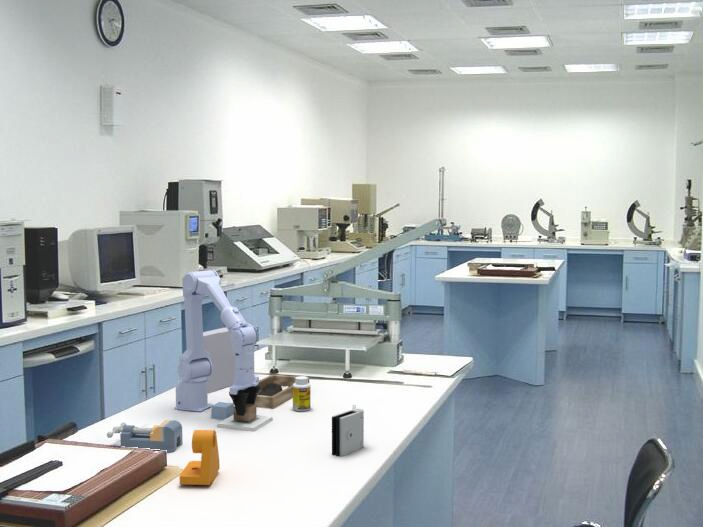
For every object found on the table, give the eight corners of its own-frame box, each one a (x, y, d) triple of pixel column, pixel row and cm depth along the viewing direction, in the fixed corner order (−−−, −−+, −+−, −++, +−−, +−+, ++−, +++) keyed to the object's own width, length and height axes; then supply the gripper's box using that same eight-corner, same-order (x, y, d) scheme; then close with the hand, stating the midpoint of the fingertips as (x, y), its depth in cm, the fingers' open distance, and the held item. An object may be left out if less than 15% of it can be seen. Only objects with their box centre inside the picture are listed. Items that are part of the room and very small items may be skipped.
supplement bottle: (298, 413, 248) (298, 380, 247) (289, 408, 253) (289, 376, 252) (313, 410, 251) (313, 378, 250) (305, 406, 256) (304, 374, 255)
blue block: (211, 419, 242) (211, 406, 242) (219, 414, 247) (219, 401, 247) (226, 420, 241) (226, 407, 240) (234, 416, 245) (233, 403, 245)
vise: (185, 442, 220) (184, 418, 220) (171, 454, 210) (171, 429, 209) (122, 439, 222) (121, 416, 222) (106, 451, 212) (105, 426, 212)
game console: (254, 379, 292) (253, 325, 290) (202, 395, 269) (201, 336, 268) (242, 377, 295) (241, 323, 294) (189, 393, 273) (188, 335, 271)
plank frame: (232, 404, 258) (232, 393, 258) (272, 384, 285) (271, 374, 284) (273, 408, 253) (273, 397, 253) (309, 387, 280) (309, 377, 279)
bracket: (190, 471, 197) (189, 423, 196) (219, 472, 197) (218, 424, 196) (178, 487, 186) (177, 437, 185) (209, 488, 186) (208, 437, 185)
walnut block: (233, 420, 235) (233, 406, 235) (241, 415, 240) (241, 402, 240) (249, 421, 234) (249, 408, 234) (256, 417, 239) (256, 404, 238)
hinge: (353, 440, 222) (353, 404, 221) (370, 443, 219) (371, 407, 218) (329, 455, 209) (329, 417, 208) (347, 458, 207) (347, 419, 206)
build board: (217, 426, 234) (217, 423, 234) (237, 415, 245) (237, 412, 245) (254, 431, 229) (253, 427, 229) (272, 419, 241) (272, 416, 241)
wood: (274, 405, 258) (274, 396, 258) (251, 404, 259) (251, 395, 259) (289, 389, 280) (289, 380, 280) (268, 388, 281) (268, 379, 281)
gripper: (244, 373, 227) (245, 420, 229) (267, 363, 241) (268, 407, 242) (222, 371, 230) (223, 418, 231) (246, 361, 243) (247, 405, 245)
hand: (245, 412), depth 237 cm, fingers closed on walnut block, 5 cm apart
